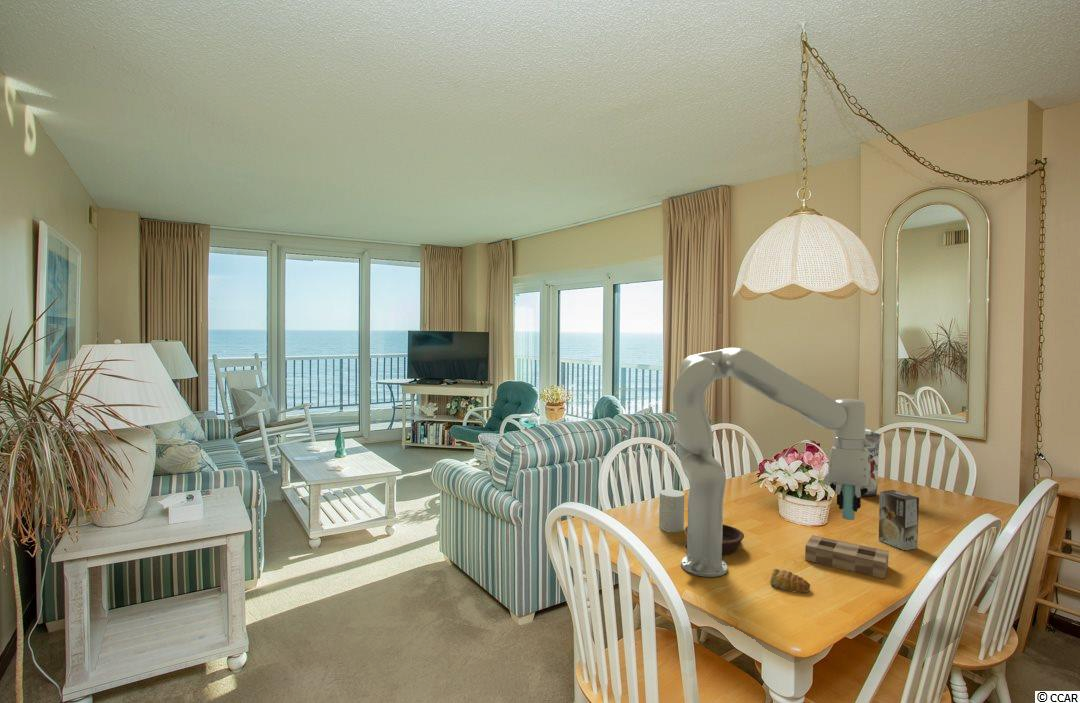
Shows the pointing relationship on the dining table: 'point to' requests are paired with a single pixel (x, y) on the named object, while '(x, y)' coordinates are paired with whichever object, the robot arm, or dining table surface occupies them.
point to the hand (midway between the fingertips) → (848, 508)
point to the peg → (848, 502)
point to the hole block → (847, 556)
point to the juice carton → (873, 458)
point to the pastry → (789, 581)
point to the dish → (728, 539)
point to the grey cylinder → (671, 510)
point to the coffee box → (898, 519)
